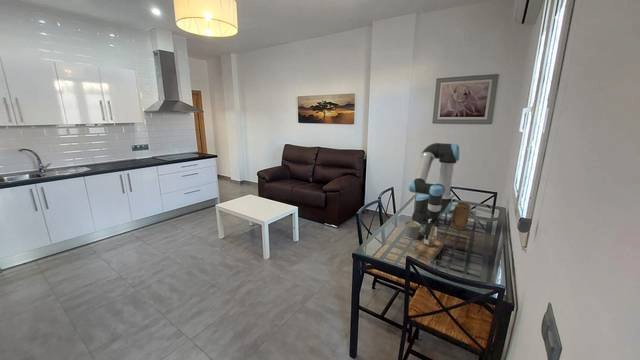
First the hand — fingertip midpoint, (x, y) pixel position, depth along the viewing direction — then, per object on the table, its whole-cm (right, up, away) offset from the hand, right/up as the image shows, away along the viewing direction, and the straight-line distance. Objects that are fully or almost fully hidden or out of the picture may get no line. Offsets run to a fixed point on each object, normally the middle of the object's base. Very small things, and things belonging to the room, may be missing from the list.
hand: (430, 239), depth 168 cm
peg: (0, -8, +2) cm, 8 cm away
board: (0, -8, +2) cm, 8 cm away
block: (+35, +2, +31) cm, 47 cm away
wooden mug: (+38, +11, +60) cm, 72 cm away
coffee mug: (-4, -3, +20) cm, 20 cm away
